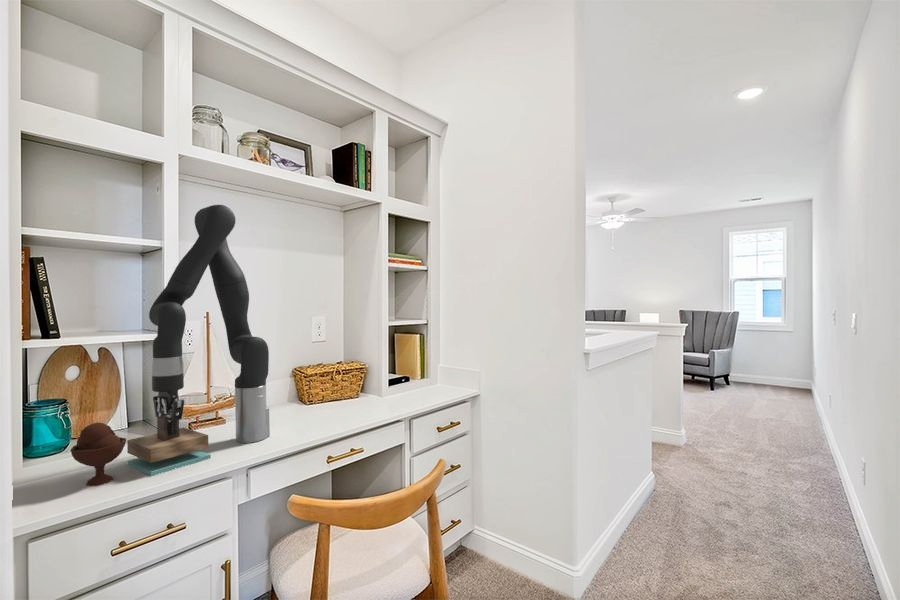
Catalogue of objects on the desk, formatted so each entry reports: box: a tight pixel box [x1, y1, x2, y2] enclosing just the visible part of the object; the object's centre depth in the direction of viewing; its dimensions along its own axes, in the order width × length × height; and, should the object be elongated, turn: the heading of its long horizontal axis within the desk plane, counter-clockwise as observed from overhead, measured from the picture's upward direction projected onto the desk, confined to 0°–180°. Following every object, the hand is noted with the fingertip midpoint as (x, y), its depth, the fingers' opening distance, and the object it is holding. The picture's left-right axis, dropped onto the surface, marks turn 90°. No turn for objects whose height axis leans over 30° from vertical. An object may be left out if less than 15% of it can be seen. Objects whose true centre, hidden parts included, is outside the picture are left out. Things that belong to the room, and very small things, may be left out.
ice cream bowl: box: [70, 422, 127, 487], centre depth 111 cm, size 11×11×15 cm
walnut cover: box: [126, 414, 209, 463], centre depth 124 cm, size 15×15×10 cm
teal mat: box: [127, 450, 211, 477], centre depth 124 cm, size 15×15×1 cm
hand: (168, 433), depth 124 cm, fingers closed on walnut cover, 4 cm apart
